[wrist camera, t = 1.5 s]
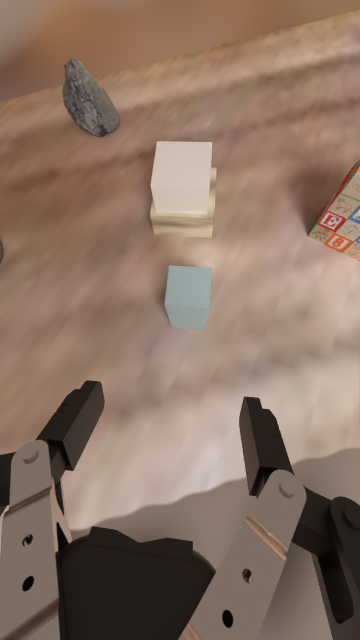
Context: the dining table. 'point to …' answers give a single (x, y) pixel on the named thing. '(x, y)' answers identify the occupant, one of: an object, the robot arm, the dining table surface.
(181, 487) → the dining table surface
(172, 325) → the pillar block
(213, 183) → the tower bottom slab
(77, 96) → the mineral rock
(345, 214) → the stack of blocks
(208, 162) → the tower top slab
